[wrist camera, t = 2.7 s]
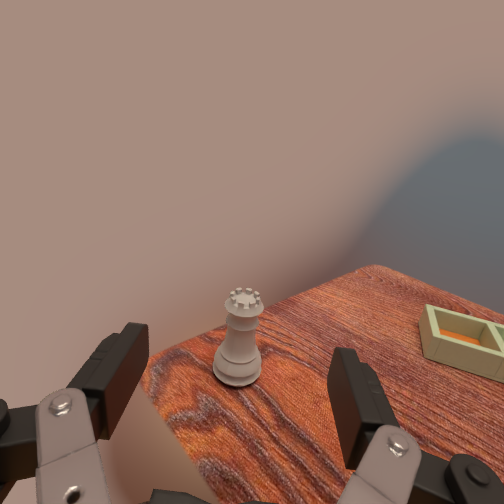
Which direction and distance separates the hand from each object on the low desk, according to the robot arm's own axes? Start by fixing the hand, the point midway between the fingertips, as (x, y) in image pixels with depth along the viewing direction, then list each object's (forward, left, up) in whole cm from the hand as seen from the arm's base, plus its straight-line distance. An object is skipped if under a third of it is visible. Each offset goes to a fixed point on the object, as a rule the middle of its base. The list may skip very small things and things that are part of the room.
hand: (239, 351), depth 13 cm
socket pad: (+20, +26, -12) cm, 34 cm away
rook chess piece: (-4, +11, -12) cm, 17 cm away
